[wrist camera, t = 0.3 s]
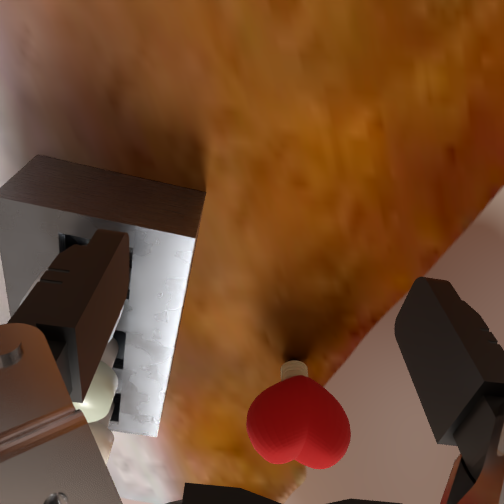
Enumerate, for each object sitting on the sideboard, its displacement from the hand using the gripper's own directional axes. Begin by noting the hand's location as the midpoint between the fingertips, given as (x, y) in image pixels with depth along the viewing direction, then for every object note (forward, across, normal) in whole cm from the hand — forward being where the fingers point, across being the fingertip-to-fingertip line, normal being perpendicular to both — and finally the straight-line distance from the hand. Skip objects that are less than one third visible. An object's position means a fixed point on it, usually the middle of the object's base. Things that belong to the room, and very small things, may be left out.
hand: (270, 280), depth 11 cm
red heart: (+19, -8, +24) cm, 32 cm away
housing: (+19, +10, +18) cm, 28 cm away
